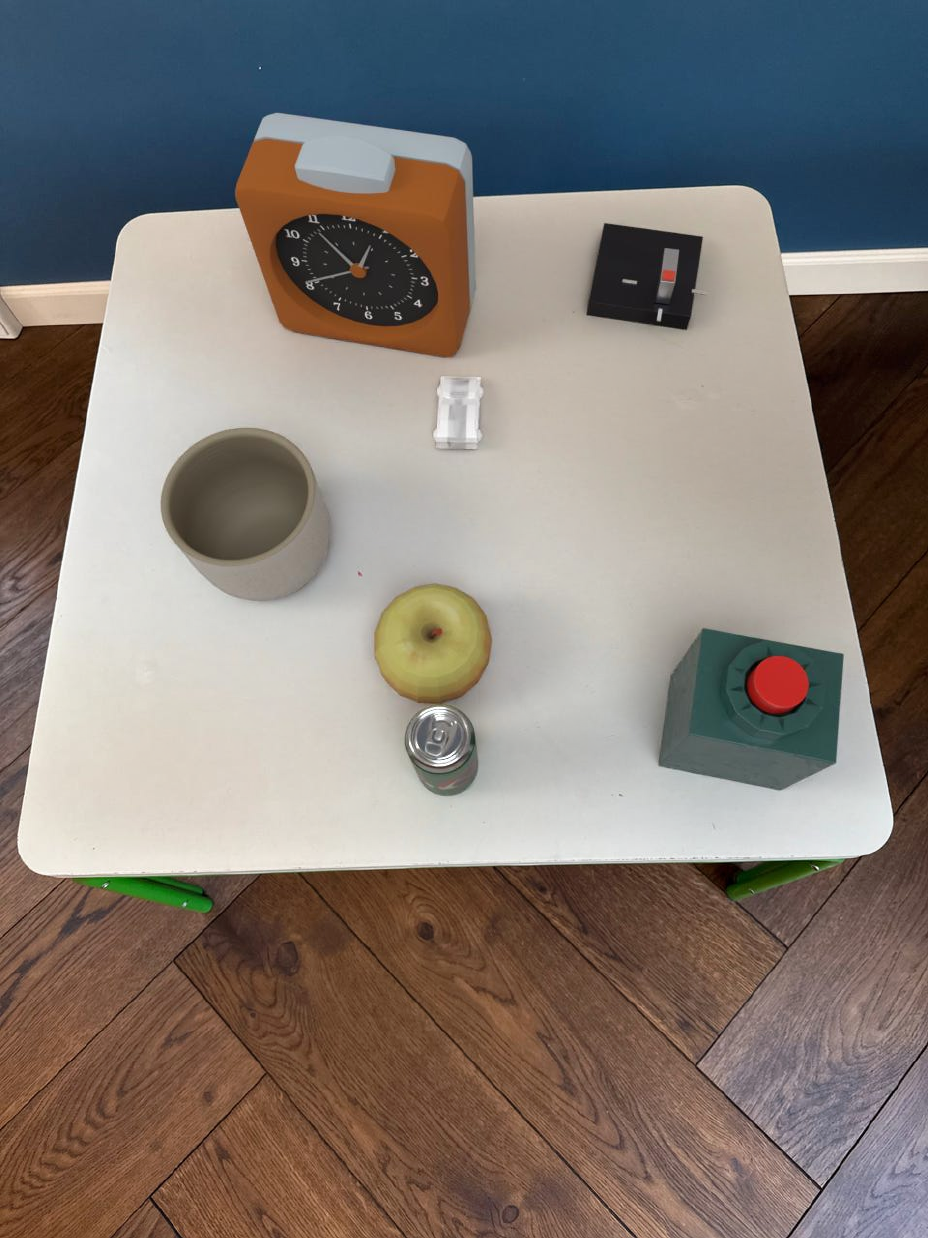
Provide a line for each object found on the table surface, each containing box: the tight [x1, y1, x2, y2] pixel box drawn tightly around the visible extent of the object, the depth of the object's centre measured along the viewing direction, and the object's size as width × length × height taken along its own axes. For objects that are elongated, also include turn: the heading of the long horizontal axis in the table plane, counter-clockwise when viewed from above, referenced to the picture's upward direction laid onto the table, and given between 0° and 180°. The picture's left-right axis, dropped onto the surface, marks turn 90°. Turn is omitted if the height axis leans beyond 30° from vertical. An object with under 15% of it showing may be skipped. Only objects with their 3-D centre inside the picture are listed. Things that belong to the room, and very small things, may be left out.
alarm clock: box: [234, 112, 477, 358], centre depth 78 cm, size 18×9×21 cm, turn 77°
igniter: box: [658, 627, 845, 791], centre depth 66 cm, size 10×8×14 cm
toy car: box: [432, 375, 485, 450], centre depth 83 cm, size 5×8×2 cm, turn 177°
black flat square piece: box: [586, 222, 708, 331], centre depth 87 cm, size 11×11×2 cm
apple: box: [373, 583, 493, 705], centre depth 72 cm, size 10×10×8 cm
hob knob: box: [655, 248, 679, 304], centre depth 84 cm, size 4×1×3 cm, turn 170°
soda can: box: [404, 703, 479, 797], centre depth 67 cm, size 5×5×12 cm
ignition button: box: [747, 656, 809, 714], centre depth 59 cm, size 4×4×2 cm
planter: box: [160, 427, 331, 602], centre depth 74 cm, size 12×12×11 cm
